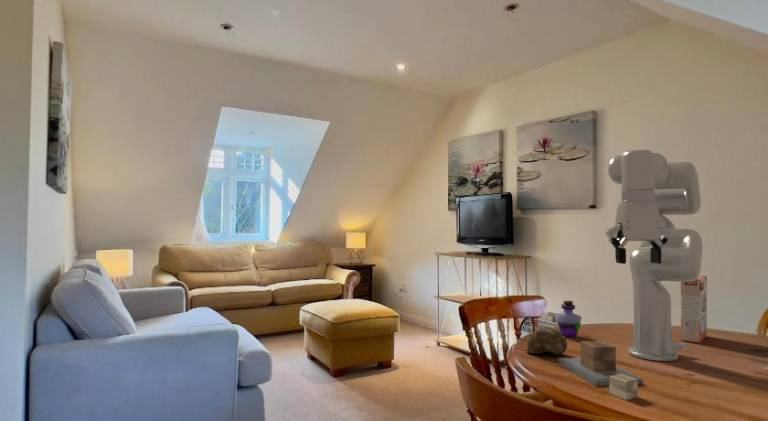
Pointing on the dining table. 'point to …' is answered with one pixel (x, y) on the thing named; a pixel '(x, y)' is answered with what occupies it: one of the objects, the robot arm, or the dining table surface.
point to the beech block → (623, 386)
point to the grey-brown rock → (547, 341)
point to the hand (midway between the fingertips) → (638, 263)
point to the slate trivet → (594, 372)
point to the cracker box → (694, 310)
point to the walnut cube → (598, 355)
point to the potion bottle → (568, 320)
